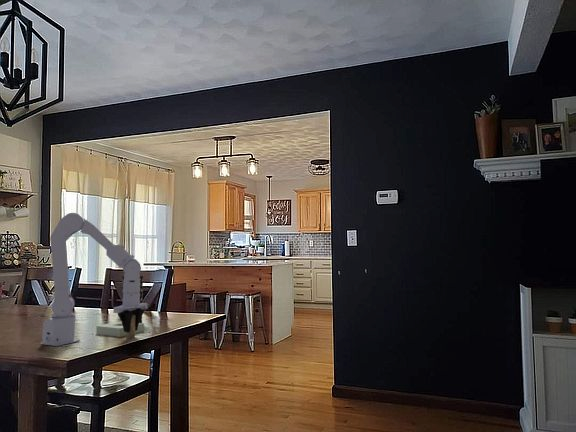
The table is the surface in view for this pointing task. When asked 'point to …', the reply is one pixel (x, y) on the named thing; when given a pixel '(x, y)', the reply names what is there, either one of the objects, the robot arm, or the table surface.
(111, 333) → the wick holder
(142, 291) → the spotted tube
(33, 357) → the table surface
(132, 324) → the peg
